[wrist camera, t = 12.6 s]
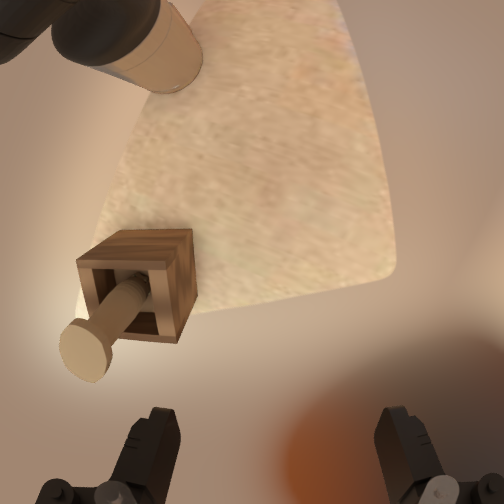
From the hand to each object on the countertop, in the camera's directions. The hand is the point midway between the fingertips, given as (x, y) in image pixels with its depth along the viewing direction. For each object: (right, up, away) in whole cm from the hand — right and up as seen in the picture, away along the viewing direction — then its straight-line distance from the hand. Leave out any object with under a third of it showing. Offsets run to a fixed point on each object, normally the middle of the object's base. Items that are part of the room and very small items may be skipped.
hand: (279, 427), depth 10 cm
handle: (-15, +3, +27) cm, 31 cm away
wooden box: (-14, +5, +33) cm, 36 cm away
